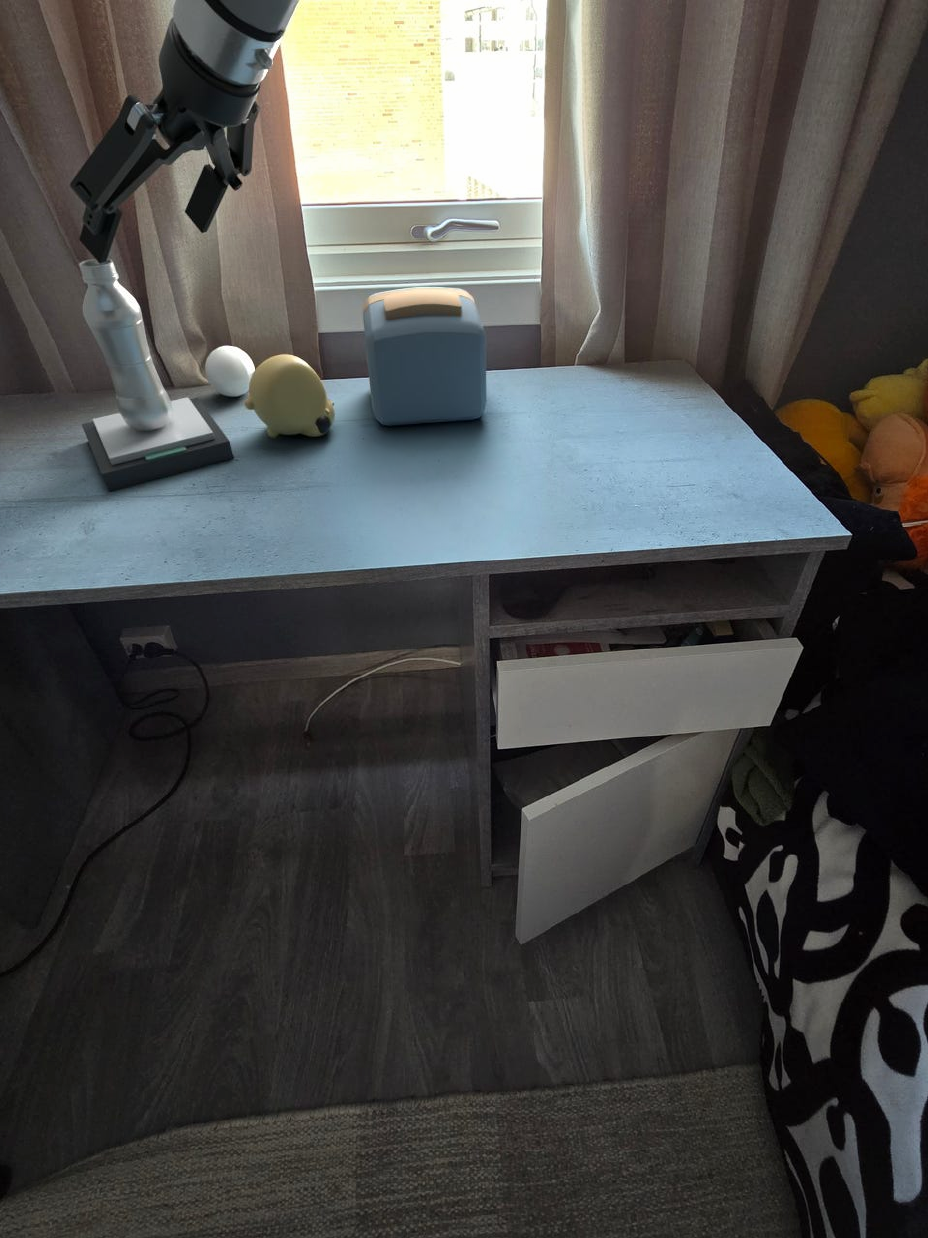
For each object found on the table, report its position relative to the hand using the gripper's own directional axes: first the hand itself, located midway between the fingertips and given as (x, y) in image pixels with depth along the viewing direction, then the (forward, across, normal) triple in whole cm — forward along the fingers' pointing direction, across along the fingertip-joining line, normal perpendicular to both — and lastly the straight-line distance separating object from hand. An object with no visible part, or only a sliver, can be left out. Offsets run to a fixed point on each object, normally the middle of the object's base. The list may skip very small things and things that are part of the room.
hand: (147, 235), depth 71 cm
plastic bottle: (+25, +1, -9) cm, 27 cm away
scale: (+27, +1, -12) cm, 30 cm away
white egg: (+30, +20, -9) cm, 37 cm away
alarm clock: (+9, +30, -29) cm, 43 cm away
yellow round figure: (+18, +14, -21) cm, 31 cm away
